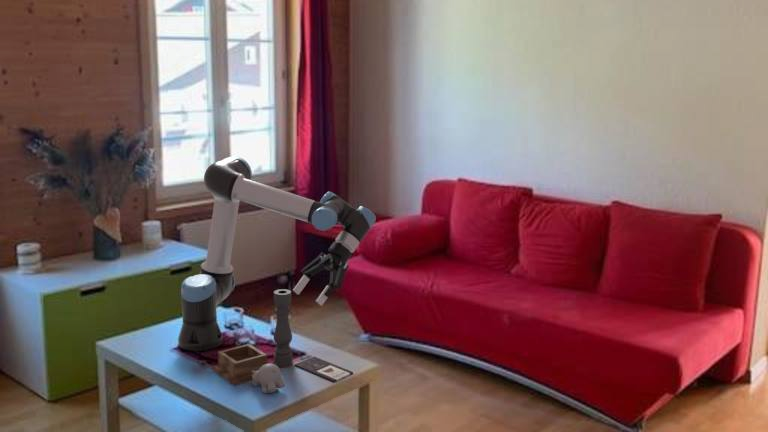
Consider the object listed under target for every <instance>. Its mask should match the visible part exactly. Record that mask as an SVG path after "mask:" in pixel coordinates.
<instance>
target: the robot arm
mask: <svg viewBox="0 0 768 432" xmlns="http://www.w3.org/2000/svg"><path fill="white" fill-rule="evenodd" d="M252 174H253V173H252V168H251V166H250V164H249V163H248V162H247V161H246V160H245V159H243V158H241V157H240V156H227V157H224V158H223V159H221V160H219V161H215V162H212V163H211V164H210V165H209V166H208V167H207V168H206V170H205V172H204V175H203V180H204V181H203V182H204V185H205V187H206V189H207V190H208V192H210V194H211V195H212V196H213V199H214V203H213V210H212V217H211V223H210V232H209V237H208V245H207V250H206V251H207V252H206V257H205V260H204V261H203V262H202V263H201V264H200V271H199V274H194V275H193V276H192V275H191V276H188V277H186V278H185V279H184V280H183V281H182V283H181V290H180V295H181V297H180V298H181V314H182V324H181V327H180V330H179V331H180V332H179V334H178V340H177V344H178V347H179V348H180V349H182V350H186V351H191V352H192V351H193V352H202V351H203V350H204V351H208V350H209V351H210V350H213V349H216V348H218V347H219V346H220V345H222V344H223V334H222V331H221V328H220V325H219V323H218V319H217V318H218V317H217V315H218V314H217V306H218V305H219V304H220V303H222V302H223V301H224V300H225V299H227V298H228V297H229V296H230V295H231V294H232V292H233V291H234V289H235V286H236V278H235V274H234V267H233V265H232V264H231V259H232V252H233V245H234V238H235V233H236V227H237V226H236V225H237V221H238V212H239V208H240V207H239V206H240V202H244V203H247V204H249V205H253V206H255V207H259V208H262V209H265V210H268V211H271V212H275V213H279V214H281V215H284V216H287V217H290V218H294V219H296V220H300V221H302V222H306V223H309V224H312V225H313V227H314V228H315V229H317V230H318V231H324V232H325V231H327V230H329V229H330V230H331V228H333V227H335V226H336V224H339V225H340V226H341V227H343V229H342V230H341V231H340V232H339V234H338V235H337V236H336V238H335V241H333V242H332V244H331V245H330V247H329V248H328V254H325V253H324V252H320V254H318V256H317V257H316V258H314V259H313V260H312V261H311V262H309V263H308V264H307V265H306V266H305V267H302V269H300V271H301V273H302V276H301V277H300V279H299V280H298V281H297V284H296V285H295V286H294V288H293V289H292V291H293V292H294V293H295V294H296V295H300V294H301V292H302V291H303V289H304V288H305V287H306V285H307V284H308V283H309V281H310V280H311V277H313V276H315V275H317V274H319V273H320V272H323V271H330V275H329V283H328V284H327V285H326V286H325V287H324V289H323V290H322V291H321V293H319V296H317V298H316V300H315V302H316V304H319V305H320V307H321V306H322V307H323V305H324V304H325V302H326V301H327V299H328V298H329V297H331V295H332V293H333V292H334V291H336V290H338V291H340V290H342V289H341V288H342V286H343V282H344V279H345V277H346V276H345V275H346V272H347V269H348V268H349V267H350V265H349V264H348V263H347V262H348V260H349V259H350V258H351V257H352V253H354V252H355V251H356V249H357V247H358V246H359V245H360V244H361V243H362V241H363V239H364V238H365V237H366V235H367V234H368V233H369V231H371V228H373V227H372V226H374V224H375V222H376V220H377V217H376V215H375V213H374V212H373V211H372V210H370V209H369V208H367V207H365V206H362V205H360V206H359V207H358V208H355V207H354V206H352V205H351V204H349V203H348V202H347V201H345V200H344V199H342V198H341V197H340V196H339V195H337V194H336V193H334V192H332V191H327V192H326V193H325V194H324V195H323V196H322V197H321V199H320V201H316V200H314V199H310V198H307V197H304V196H301V195H298V194H295V193H292V192H289V191H285V190H282V189H279V188H276V187H273V186H270V185H267V184H264V183H261V182H258V181H254V180H252V177H253V176H252ZM204 351H203V352H204Z"/></svg>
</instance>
